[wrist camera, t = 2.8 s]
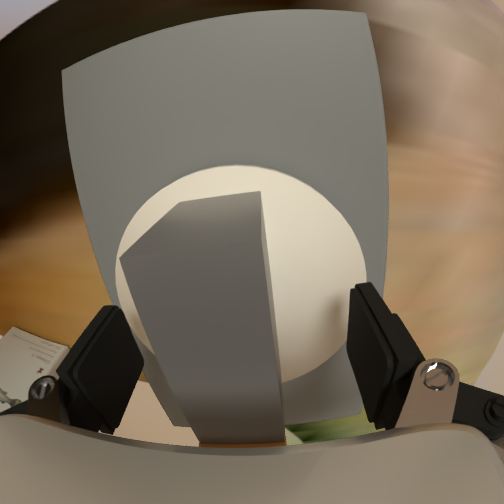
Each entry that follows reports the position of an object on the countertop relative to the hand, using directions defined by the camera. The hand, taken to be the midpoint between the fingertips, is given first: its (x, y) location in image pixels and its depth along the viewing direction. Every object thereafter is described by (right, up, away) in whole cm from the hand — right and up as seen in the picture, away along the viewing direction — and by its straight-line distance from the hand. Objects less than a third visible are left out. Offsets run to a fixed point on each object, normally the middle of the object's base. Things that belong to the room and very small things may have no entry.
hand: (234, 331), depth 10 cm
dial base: (0, +2, +5) cm, 5 cm away
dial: (0, +1, +3) cm, 3 cm away
